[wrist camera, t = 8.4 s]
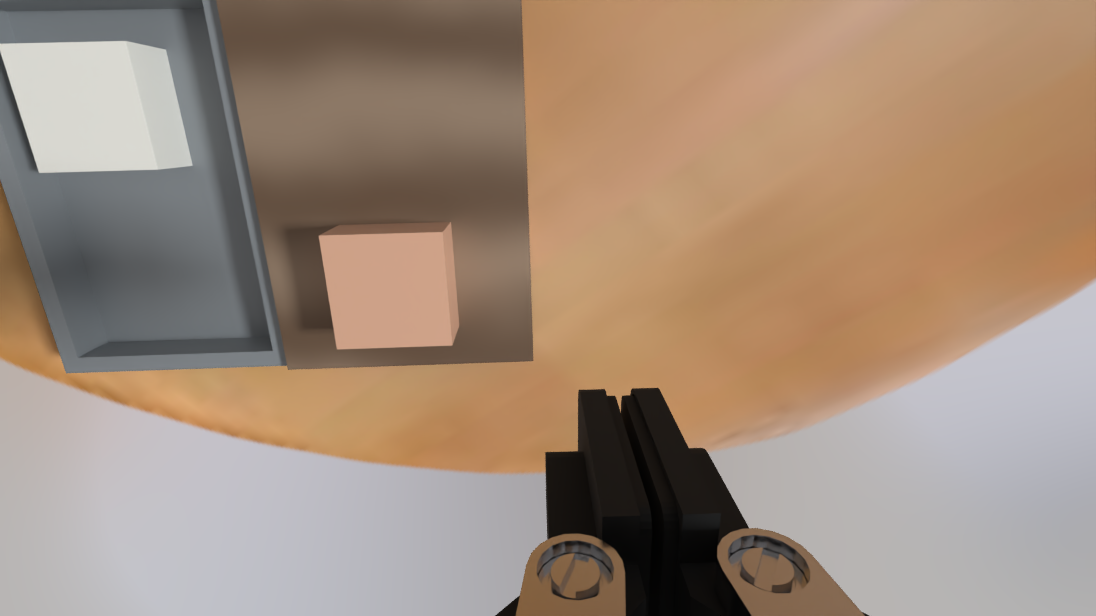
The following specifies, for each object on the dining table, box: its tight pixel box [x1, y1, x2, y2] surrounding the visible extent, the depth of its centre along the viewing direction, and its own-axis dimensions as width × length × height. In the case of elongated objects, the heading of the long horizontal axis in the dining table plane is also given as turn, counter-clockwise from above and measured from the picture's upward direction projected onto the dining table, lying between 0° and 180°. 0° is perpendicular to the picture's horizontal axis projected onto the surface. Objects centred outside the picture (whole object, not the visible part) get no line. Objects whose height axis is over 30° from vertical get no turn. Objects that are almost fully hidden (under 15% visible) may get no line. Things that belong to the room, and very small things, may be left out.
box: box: [0, 0, 287, 373], centre depth 25 cm, size 17×11×2 cm, turn 1°
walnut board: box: [216, 0, 533, 370], centre depth 25 cm, size 17×12×3 cm
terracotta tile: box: [319, 222, 459, 349], centre depth 24 cm, size 5×5×2 cm
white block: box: [0, 41, 193, 173], centre depth 23 cm, size 5×5×2 cm
